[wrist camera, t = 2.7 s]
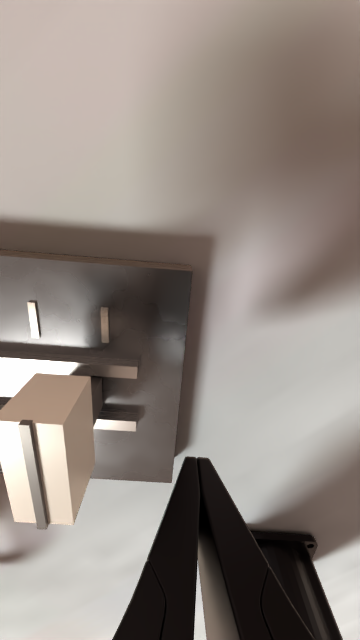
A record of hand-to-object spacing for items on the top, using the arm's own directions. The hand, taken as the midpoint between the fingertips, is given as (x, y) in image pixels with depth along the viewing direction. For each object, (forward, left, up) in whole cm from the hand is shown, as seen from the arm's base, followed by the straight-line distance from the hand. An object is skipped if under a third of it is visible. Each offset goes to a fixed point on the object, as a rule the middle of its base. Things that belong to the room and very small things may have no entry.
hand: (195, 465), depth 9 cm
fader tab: (+5, 0, -4) cm, 6 cm away
